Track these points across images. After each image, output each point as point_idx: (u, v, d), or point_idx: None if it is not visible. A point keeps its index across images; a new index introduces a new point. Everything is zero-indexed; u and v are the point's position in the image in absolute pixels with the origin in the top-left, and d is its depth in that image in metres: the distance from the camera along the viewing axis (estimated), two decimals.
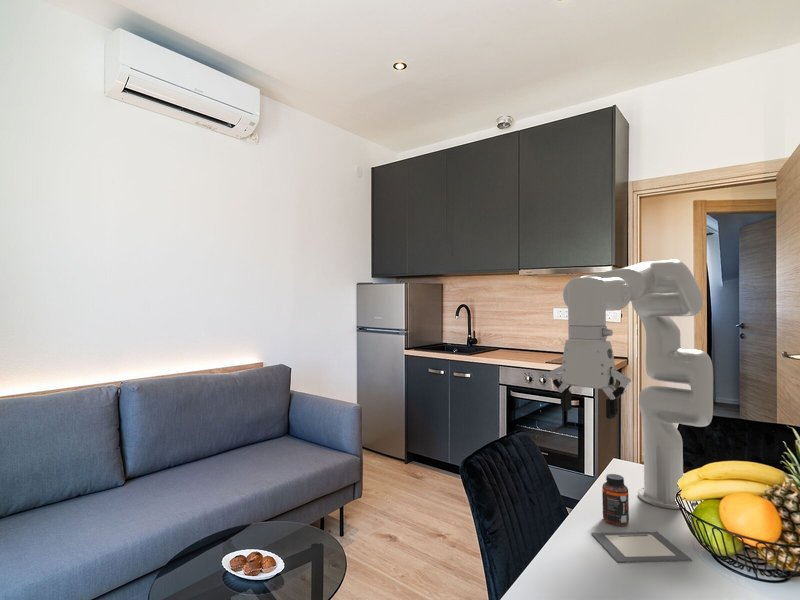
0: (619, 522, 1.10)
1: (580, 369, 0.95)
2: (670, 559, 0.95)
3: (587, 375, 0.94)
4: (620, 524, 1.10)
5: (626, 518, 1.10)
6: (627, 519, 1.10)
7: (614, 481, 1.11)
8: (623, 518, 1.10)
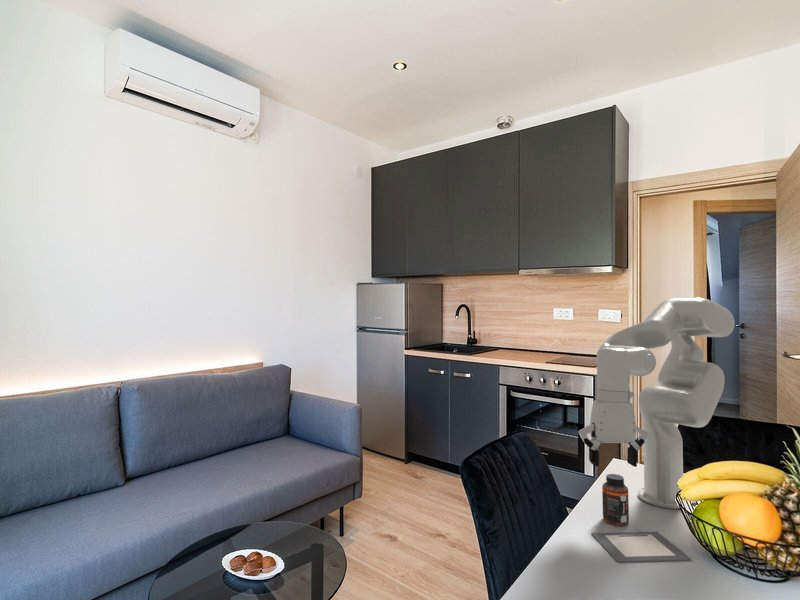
0: (619, 522, 1.10)
1: (616, 428, 1.10)
2: (670, 559, 0.95)
3: (621, 432, 1.11)
4: (620, 524, 1.10)
5: (626, 518, 1.10)
6: (627, 519, 1.10)
7: (614, 481, 1.11)
8: (623, 518, 1.10)
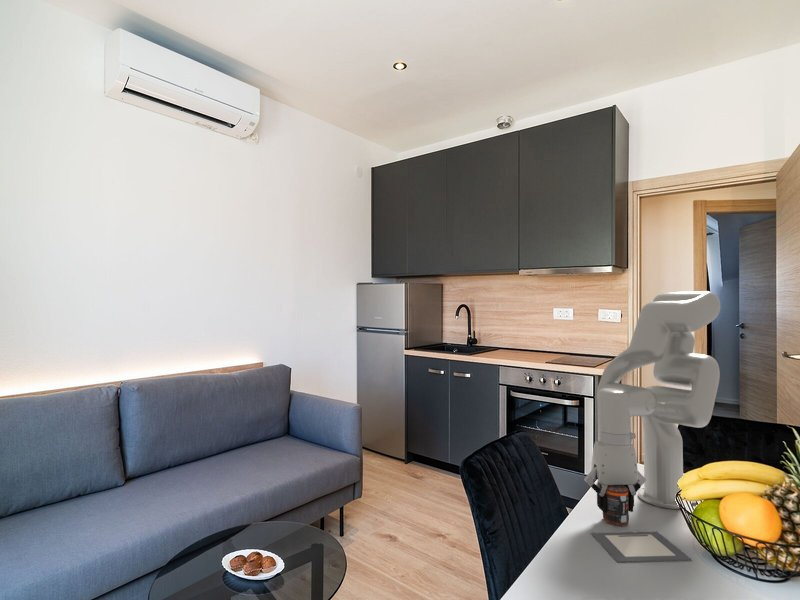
0: (619, 522, 1.10)
1: (618, 471, 1.10)
2: (670, 559, 0.95)
3: (622, 475, 1.11)
4: (620, 524, 1.10)
5: (626, 518, 1.10)
6: (627, 519, 1.10)
7: None
8: (623, 518, 1.10)
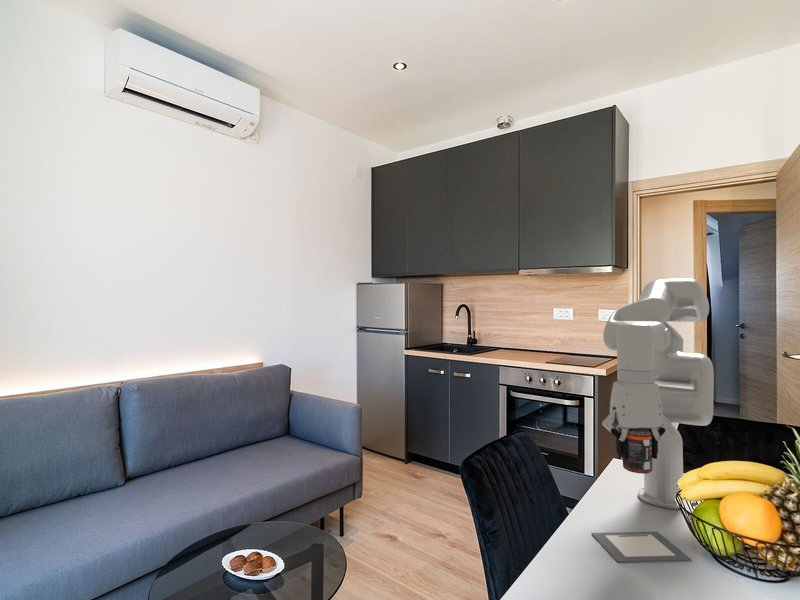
0: (642, 469, 0.98)
1: (640, 412, 0.99)
2: (670, 559, 0.95)
3: (645, 417, 0.99)
4: (643, 471, 0.98)
5: (649, 465, 0.98)
6: (651, 466, 0.99)
7: None
8: (646, 465, 0.98)
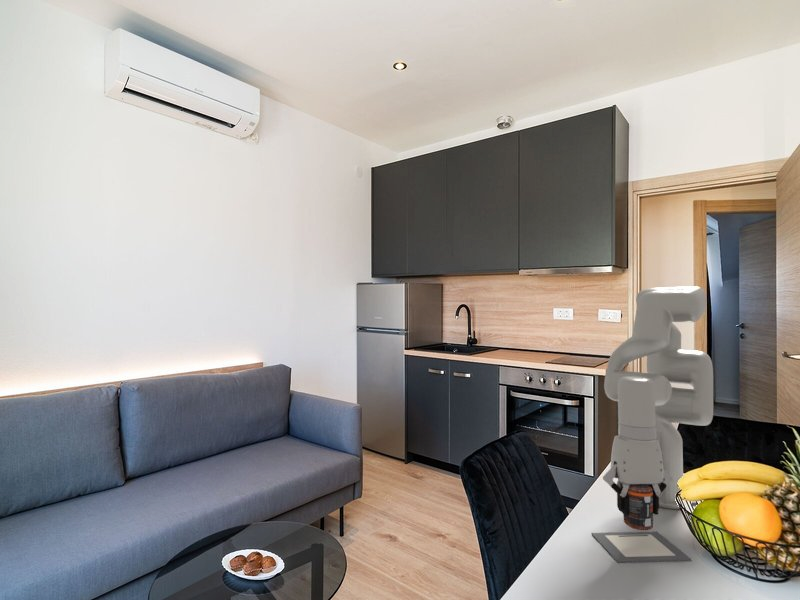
0: (643, 526, 0.98)
1: (641, 468, 0.98)
2: (670, 559, 0.95)
3: (646, 473, 0.99)
4: (644, 528, 0.98)
5: (650, 521, 0.98)
6: (651, 523, 0.98)
7: None
8: (647, 522, 0.98)
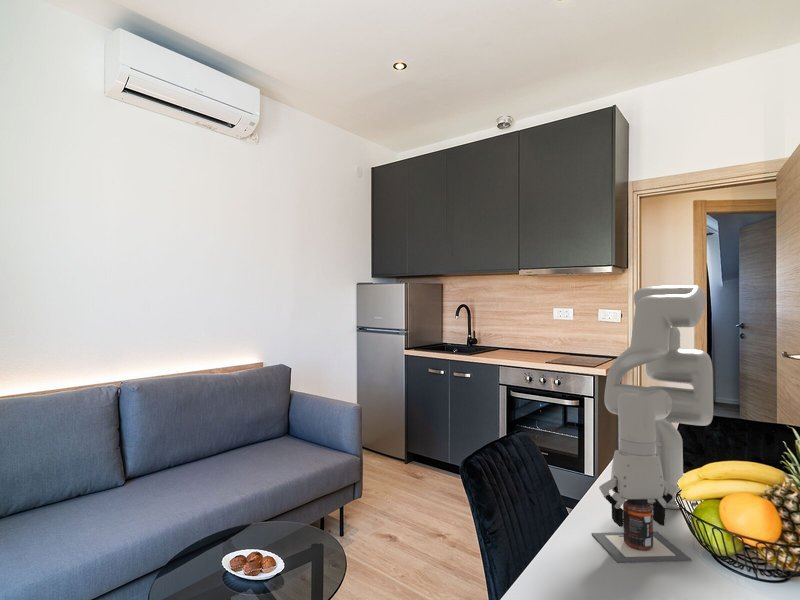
0: (643, 546, 0.98)
1: (642, 483, 0.98)
2: (670, 559, 0.95)
3: (647, 488, 0.99)
4: (644, 548, 0.98)
5: (650, 541, 0.98)
6: (652, 542, 0.98)
7: (637, 500, 0.99)
8: (647, 541, 0.98)
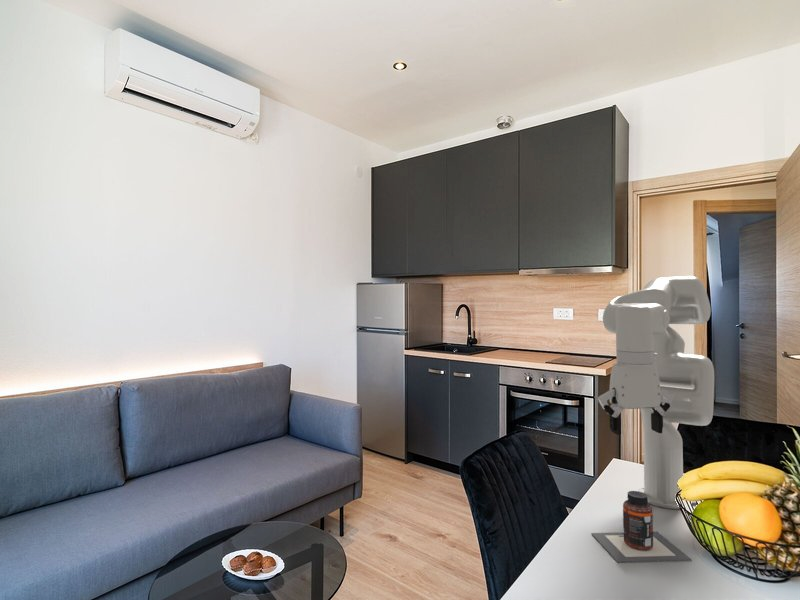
0: (643, 546, 0.98)
1: (639, 392, 1.01)
2: (670, 559, 0.95)
3: (644, 397, 1.01)
4: (644, 548, 0.98)
5: (650, 541, 0.98)
6: (651, 542, 0.98)
7: (637, 500, 0.99)
8: (647, 541, 0.98)
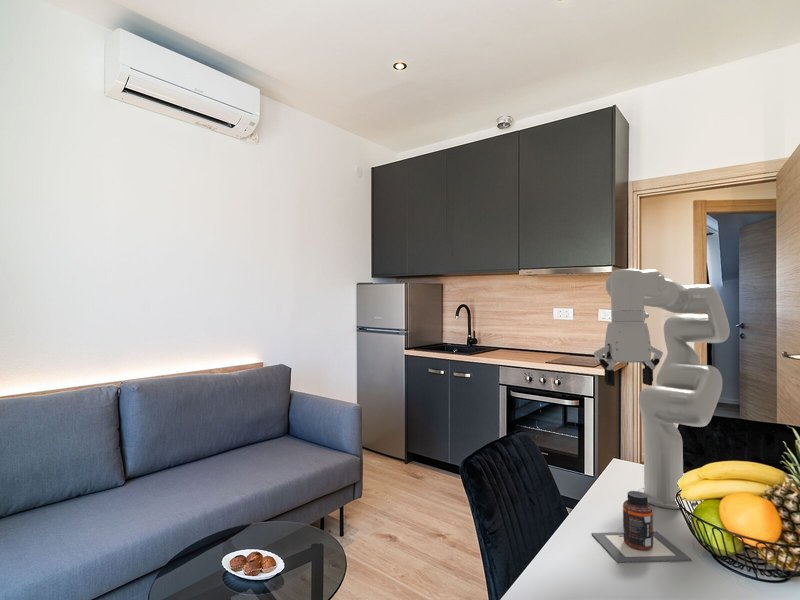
0: (643, 546, 0.98)
1: (631, 347, 1.11)
2: (670, 559, 0.95)
3: (636, 352, 1.12)
4: (644, 548, 0.98)
5: (650, 541, 0.98)
6: (651, 542, 0.98)
7: (637, 500, 0.99)
8: (647, 541, 0.98)
